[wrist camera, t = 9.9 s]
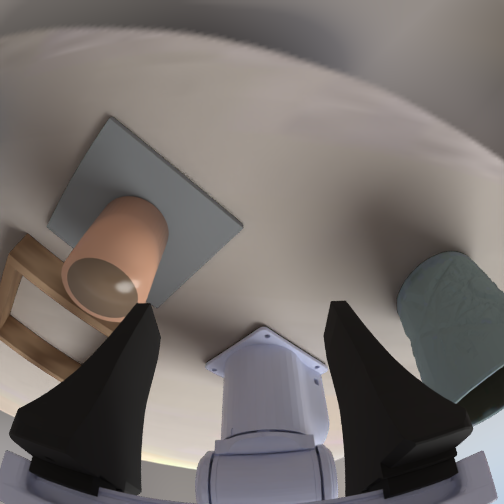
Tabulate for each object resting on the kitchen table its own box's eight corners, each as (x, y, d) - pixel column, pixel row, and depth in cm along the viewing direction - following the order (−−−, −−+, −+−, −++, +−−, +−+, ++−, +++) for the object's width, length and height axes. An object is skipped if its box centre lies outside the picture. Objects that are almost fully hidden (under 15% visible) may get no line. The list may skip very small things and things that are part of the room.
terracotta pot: (183, 230, 20) (163, 294, 15) (141, 270, 22) (117, 333, 17) (125, 181, 18) (83, 233, 13) (88, 229, 20) (49, 285, 15)
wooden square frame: (157, 327, 26) (150, 354, 23) (98, 379, 31) (92, 399, 29) (27, 233, 20) (8, 253, 18) (2, 313, 26) (-10, 331, 23)
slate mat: (243, 224, 20) (243, 228, 20) (158, 304, 24) (157, 308, 24) (112, 116, 16) (109, 118, 16) (49, 223, 20) (46, 227, 20)
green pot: (412, 341, 28) (451, 441, 18) (366, 293, 24) (415, 423, 14) (488, 283, 24) (548, 373, 14) (461, 217, 20) (554, 322, 10)
